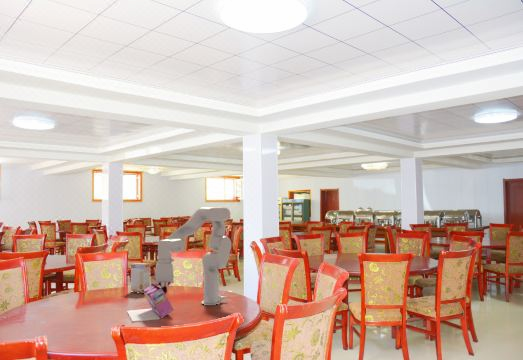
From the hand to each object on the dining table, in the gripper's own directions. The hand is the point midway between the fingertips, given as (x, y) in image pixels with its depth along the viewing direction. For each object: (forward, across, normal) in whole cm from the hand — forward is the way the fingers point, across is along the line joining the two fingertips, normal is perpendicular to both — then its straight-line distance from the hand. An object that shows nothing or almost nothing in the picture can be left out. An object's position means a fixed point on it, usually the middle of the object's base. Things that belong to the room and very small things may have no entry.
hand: (163, 294), depth 238 cm
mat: (+11, +11, 0) cm, 16 cm away
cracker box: (+10, +3, -71) cm, 72 cm away
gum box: (+9, 0, 0) cm, 9 cm away
